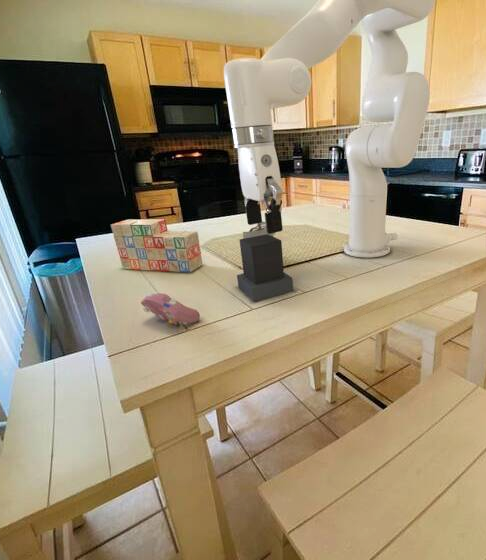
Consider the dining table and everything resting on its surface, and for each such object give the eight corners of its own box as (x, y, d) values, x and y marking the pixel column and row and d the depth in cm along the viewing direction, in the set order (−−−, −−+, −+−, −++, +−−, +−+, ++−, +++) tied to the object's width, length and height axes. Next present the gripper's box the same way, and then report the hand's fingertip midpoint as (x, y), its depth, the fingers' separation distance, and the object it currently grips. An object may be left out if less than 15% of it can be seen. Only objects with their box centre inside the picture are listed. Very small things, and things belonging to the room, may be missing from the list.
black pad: (269, 251, 74) (267, 234, 72) (282, 259, 68) (281, 240, 67) (241, 257, 71) (239, 239, 69) (253, 266, 66) (251, 246, 64)
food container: (270, 272, 82) (267, 232, 78) (246, 272, 83) (242, 232, 79) (283, 256, 93) (280, 220, 89) (261, 256, 94) (258, 220, 90)
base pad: (274, 278, 78) (273, 266, 77) (293, 290, 71) (292, 277, 70) (238, 287, 74) (236, 274, 73) (254, 301, 67) (252, 288, 66)
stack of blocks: (203, 264, 90) (195, 219, 85) (190, 273, 84) (181, 225, 80) (138, 261, 96) (127, 218, 91) (121, 268, 90) (109, 223, 86)
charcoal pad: (270, 268, 75) (269, 251, 74) (284, 277, 70) (282, 259, 68) (243, 275, 72) (241, 257, 71) (255, 284, 67) (253, 266, 66)
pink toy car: (154, 323, 64) (130, 300, 59) (170, 305, 66) (148, 281, 61) (188, 337, 59) (165, 312, 54) (204, 316, 61) (183, 291, 56)
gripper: (293, 134, 57) (301, 232, 64) (253, 138, 71) (263, 217, 78) (252, 138, 54) (265, 240, 61) (219, 141, 68) (233, 224, 75)
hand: (264, 227), depth 69 cm, fingers open, 9 cm apart
